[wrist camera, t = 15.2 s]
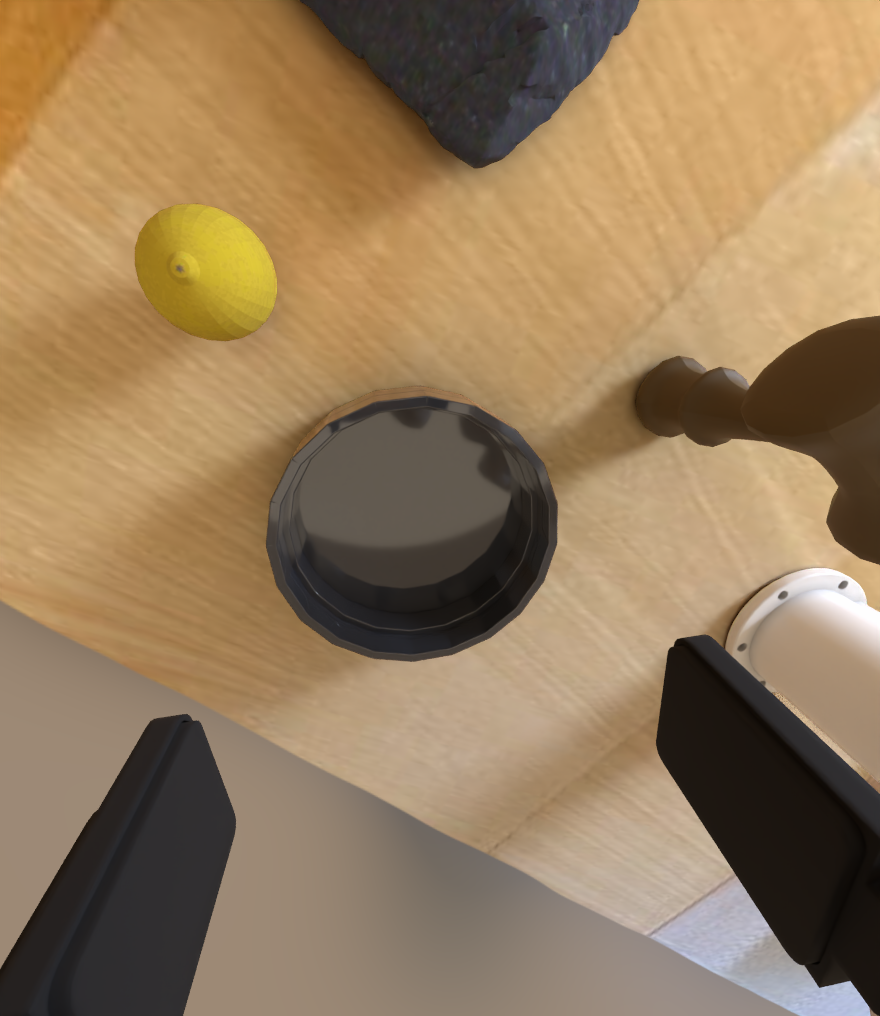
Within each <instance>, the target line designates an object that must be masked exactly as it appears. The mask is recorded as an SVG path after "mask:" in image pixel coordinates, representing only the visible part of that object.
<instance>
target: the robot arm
mask: <svg viewBox="0 0 880 1016" xmlns="http://www.w3.org/2000/svg"><path fill="white" fill-rule="evenodd" d="M771 692H779V693H780V694H781V695H782V696H784V697H785V698H786V699H787V700H788V701H789V702H790V703H791V704H792V705H793V706H795V707H796V708H797V709H798V710H799V711H800V712H801V713H802V714H803V715H805V716H806V717H807V718H808V719H809V720H810V721H811V722H812V723H813V724H814V725H816V726H817V727H818V728H819V729H820V730H821V731H822V732H823V733H824V734H826V735H827V736H828V737H829V738H830V739H831V740H832V741H833V742H834V743H836V744H837V745H838V746H839V747H840V748H841V749H842V750H843V751H844V752H845V753H847V754H848V755H849V756H850V757H851V758H852V759H853V760H854V761H855V762H857V763H858V764H859V765H860V766H861V767H862V768H863V769H864V770H865V771H867V772H868V773H869V774H870V775H871V776H872V777H873V778H874V779H875V780H876V781H878V782H879V783H880V612H878V611H876V610H875V609H873V608H871V607H869V606H868V605H867V600H866V597H865V593H864V591H863V589H862V588H861V587H860V585H859V584H858V583H857V582H856V581H854V580H853V579H852V578H850V577H848V576H846V575H844V574H842V573H840V572H838V571H836V570H832V569H827V568H811V569H805V570H800V571H797V572H794V573H791V574H788V575H786V576H784V577H782V578H780V579H778V580H776V581H774V582H772V583H771V584H769V585H768V586H766V587H765V588H763V589H762V590H761V591H759V592H758V593H757V594H756V595H755V596H754V597H753V598H752V599H750V601H749V602H748V603H747V604H746V605H745V606H744V607H743V609H742V610H741V611H740V613H739V614H738V616H737V617H736V619H735V620H734V622H733V624H732V626H731V628H730V631H729V633H728V637H727V641H726V645H725V649H724V648H723V647H722V646H721V645H720V644H719V643H717V642H716V641H715V640H714V639H713V638H712V637H710V636H708V635H699V636H692V637H686V638H680V639H677V640H676V641H675V644H674V647H671V648H670V649H669V650H668V655H667V663H666V670H665V678H664V685H663V693H662V700H661V708H660V716H659V723H658V731H657V738H656V746H657V750H658V754H659V756H660V758H661V760H662V762H663V763H664V765H665V766H666V768H667V770H668V771H669V773H670V774H671V776H672V777H673V779H674V780H675V782H676V783H677V785H678V786H679V788H680V790H681V791H682V793H683V794H684V796H685V797H686V799H687V800H688V802H689V803H690V805H691V806H692V808H693V810H694V811H695V813H696V814H697V816H698V817H699V819H700V820H701V822H702V823H703V825H704V826H705V828H706V830H707V831H708V833H709V834H710V836H711V837H712V839H713V840H714V842H715V843H716V845H717V846H718V848H719V849H720V851H721V853H722V854H723V856H724V857H725V859H726V860H727V862H728V863H729V865H730V866H731V868H732V869H733V871H734V873H735V874H736V876H737V877H738V879H739V880H740V882H741V883H742V885H743V886H744V888H745V889H746V891H747V893H748V894H749V896H750V897H751V899H752V900H753V902H754V903H755V905H756V906H757V908H758V909H759V911H760V913H761V914H762V916H763V917H764V919H765V920H766V922H767V923H768V925H769V926H770V928H771V929H772V931H773V932H774V934H775V936H776V937H777V939H778V940H779V942H780V943H781V945H782V946H783V948H784V949H785V951H786V952H787V953H788V955H789V956H790V957H791V958H792V959H793V960H794V961H795V962H796V963H798V964H799V965H805V967H806V968H807V970H808V971H809V973H810V974H811V976H812V977H813V979H814V980H815V982H816V983H817V985H818V986H819V988H821V987H825V986H829V985H834V984H838V983H843V982H847V981H851V982H852V984H853V985H854V986H855V988H856V989H857V991H858V992H859V993H860V995H861V996H862V997H863V999H864V1000H865V1002H866V1003H867V1004H868V1006H869V1007H870V1014H871V1016H880V794H879V793H878V792H877V791H876V790H875V789H874V788H873V787H872V786H871V785H870V784H868V783H867V782H866V781H865V780H864V779H863V778H862V777H861V776H860V775H859V774H858V773H857V772H856V771H855V770H853V769H852V768H851V767H850V766H849V765H848V764H847V763H846V762H845V761H844V760H843V759H842V758H841V757H840V756H838V755H837V754H836V753H835V752H834V751H833V750H832V749H831V748H830V747H829V746H828V745H827V744H826V743H825V742H823V741H822V740H821V739H820V738H819V737H818V736H817V735H816V734H815V733H814V732H813V731H812V730H811V729H810V728H808V727H807V726H806V725H805V724H804V723H803V722H802V721H801V720H800V719H799V718H798V717H797V716H796V715H795V714H794V713H792V712H791V711H790V710H789V709H788V708H787V707H786V706H785V705H784V704H783V703H782V702H781V701H780V700H779V699H777V698H776V697H775V696H774V695H773V694H772V693H771ZM235 828H236V818H235V813H234V810H233V807H232V805H231V802H230V799H229V797H228V794H227V791H226V789H225V786H224V783H223V781H222V778H221V775H220V773H219V770H218V767H217V765H216V762H215V759H214V757H213V754H212V751H211V749H210V746H209V743H208V741H207V738H206V736H205V733H204V730H203V727H202V725H201V723H200V722H199V721H193V720H192V719H191V717H190V716H189V715H188V714H183V715H176V716H170V717H164V718H157V719H154V720H152V721H150V723H149V724H148V726H147V727H146V728H145V730H144V732H143V734H142V735H141V737H140V739H139V741H138V742H137V744H136V746H135V748H134V749H133V751H132V753H131V754H130V756H129V758H128V759H127V761H126V763H125V765H124V766H123V768H122V770H121V771H120V773H119V775H118V776H117V778H116V780H115V782H114V783H113V785H112V787H111V788H110V790H109V792H108V794H107V795H106V797H105V799H104V801H103V802H102V804H101V806H100V807H99V809H98V810H97V811H96V812H95V813H94V814H93V815H92V816H91V818H90V819H89V820H88V822H87V823H86V825H85V827H84V828H83V830H82V832H81V833H80V835H79V837H78V838H77V840H76V842H75V843H74V845H73V847H72V849H71V850H70V852H69V854H68V855H67V857H66V859H65V860H64V862H63V864H62V865H61V867H60V869H59V870H58V872H57V874H56V876H55V877H54V879H53V881H52V883H51V884H50V886H49V888H48V889H47V891H46V892H45V894H44V896H43V898H42V899H41V901H40V903H39V904H38V906H37V908H36V909H35V911H34V913H33V915H32V916H31V918H30V920H29V921H28V923H27V925H26V926H25V928H24V930H23V931H22V933H21V935H20V937H19V938H18V940H17V942H16V943H15V945H14V947H13V948H12V950H11V952H10V953H9V955H8V957H7V959H6V960H5V962H4V964H3V965H2V967H1V969H0V1016H183V1014H184V1010H185V1007H186V1003H187V1000H188V996H189V993H190V989H191V986H192V982H193V979H194V975H195V972H196V968H197V965H198V961H199V958H200V954H201V951H202V947H203V944H204V940H205V937H206V933H207V930H208V926H209V923H210V919H211V916H212V912H213V909H214V905H215V902H216V898H217V894H218V891H219V888H220V884H221V881H222V877H223V874H224V870H225V867H226V863H227V860H228V856H229V853H230V849H231V846H232V842H233V838H234V835H235Z"/></svg>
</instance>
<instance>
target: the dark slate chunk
mask: <svg viewBox="0 0 880 1016" xmlns="http://www.w3.org/2000/svg"><path fill="white" fill-rule="evenodd" d="M300 1H301V2H302V3H304V4H306V5H307V6H309V7H310V8H311V9H312V10H313V11H314V12H315V13H316V15H317V16H318V17H319V18H320V19H321V20H322V22H323V23H324V24H325V26H326V27H327V28H328V30H329V31H330V32H331V33H332V34H333V35H334V36H335V37H336V38H337V39H338V40H339V41H340V42H341V43H342V44H343V45H344V46H345V47H346V48H347V49H349V50H351V51H352V52H353V53H354V54H355V55H356V56H357V57H358V58H364V59H366V61H367V64H368V66H369V67H370V69H371V70H372V72H373V73H374V74H375V76H376V77H377V78H378V79H380V80H381V81H382V82H383V83H384V84H385V85H386V86H388V87H390V88H392V89H393V91H394V92H395V94H396V95H397V96H398V97H399V98H400V99H401V100H402V101H403V102H404V103H405V104H406V105H407V106H408V107H410V108H411V109H413V110H414V111H415V112H416V113H417V114H418V115H419V116H420V117H421V118H422V119H423V120H424V121H425V123H426V124H427V126H428V128H429V130H430V132H431V134H432V135H433V136H434V137H435V138H436V140H437V141H438V142H439V143H440V144H441V146H442V147H443V148H445V149H446V150H448V151H450V152H452V153H453V154H454V155H455V156H456V157H458V158H459V159H461V160H462V161H464V162H465V163H467V164H468V165H470V166H471V167H473V168H482V167H485V166H487V165H489V164H491V163H494V162H497V161H499V160H501V159H503V158H504V157H505V156H506V155H508V154H509V153H510V152H511V151H512V150H513V149H514V148H515V147H516V146H517V144H519V143H520V142H521V141H523V140H524V139H525V138H526V137H527V136H528V135H529V134H530V133H531V132H532V131H533V130H534V129H535V128H537V127H538V126H539V125H540V124H542V123H544V122H546V121H548V120H549V119H550V118H551V116H552V114H553V113H554V112H555V111H556V110H557V109H558V108H559V107H560V105H561V104H562V102H563V101H564V99H565V98H566V97H567V96H568V94H569V92H570V91H572V90H573V89H574V87H576V86H577V85H579V84H580V83H581V82H582V81H583V80H584V79H585V78H586V77H587V76H588V75H589V74H590V73H591V72H592V70H593V69H594V67H595V66H596V64H597V63H598V62H599V61H600V60H601V59H602V57H603V55H604V54H605V53H606V51H607V49H608V46H609V43H610V41H611V39H612V37H613V35H619V34H620V33H621V32H622V31H623V30H624V29H625V28H626V27H627V25H628V23H629V21H630V18H631V16H632V14H633V13H634V12H635V10H636V8H637V5H638V2H639V0H300Z"/></svg>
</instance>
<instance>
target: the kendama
mask: <svg viewBox="0 0 880 1016" xmlns="http://www.w3.org/2000/svg"><path fill="white" fill-rule="evenodd" d="M636 407H637V413H638V417H639V418H640V420H641V421H642V423H643V424H644V426H645V427H646V428H647V429H649V430H650V431H652V432H653V433H655V434H656V435H658V436H665V437H675V436H677V435H680V434H683V433H685V434H686V436H687V437H688V438H690V439H691V440H693V441H694V442H695V443H697V444H699V445H704V446H710V447H714V446H717V445H720V444H723V443H726V442H728V441H729V440H731V439H745V440H755V441H764V442H771V443H773V444H775V445H778V446H781V447H784V448H787V449H790V450H794V451H797V452H800V453H803V454H806V455H809V456H811V457H813V458H815V459H816V460H817V461H818V462H819V463H820V464H821V465H822V466H823V467H824V468H825V469H826V470H827V471H828V473H829V474H830V475H831V476H832V478H833V479H834V480H835V482H836V484H837V485H838V489H837V491H836V493H835V494H834V496H833V498H832V501H831V505H830V509H829V512H828V516H827V521H826V523H827V525H828V527H829V529H830V531H831V533H832V535H833V537H834V539H835V541H836V542H838V543H839V544H840V545H842V546H843V547H844V548H846V549H847V550H849V551H850V552H852V553H853V554H854V555H856V556H857V557H859V558H860V559H863V560H866V561H869V562H872V563H876V564H879V565H880V316H874V317H866V318H858V319H851V320H848V321H845V322H842V323H839V324H836V325H833V326H830V327H827V328H824V329H821V330H818V331H816V332H815V333H813V334H811V335H810V336H808V337H806V338H805V339H803V340H801V341H800V342H798V343H796V344H795V345H793V346H791V347H790V348H788V349H787V350H786V351H784V352H783V353H782V354H781V355H780V356H779V357H777V358H776V359H775V360H774V361H773V362H772V363H770V364H769V365H768V366H767V367H766V368H765V369H764V370H763V371H762V372H761V373H760V375H759V376H758V377H757V379H756V380H755V381H754V382H753V384H752V385H751V386H749V385H748V383H747V381H746V379H745V378H743V377H742V376H741V375H740V374H739V373H737V372H736V371H735V370H732V369H727V368H723V367H718V368H716V369H713V370H710V371H706V369H705V368H704V367H703V366H702V365H700V364H699V363H698V362H697V361H695V360H694V359H691V358H686V357H681V356H676V357H674V358H671V359H668V360H665V361H663V362H662V363H660V364H659V365H658V366H657V367H655V368H654V369H653V370H652V371H651V372H650V373H649V374H648V376H647V377H646V378H645V380H644V381H643V383H642V384H641V386H640V388H639V392H638V395H637V399H636Z"/></svg>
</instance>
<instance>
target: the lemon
mask: <svg viewBox="0 0 880 1016" xmlns="http://www.w3.org/2000/svg"><path fill="white" fill-rule="evenodd" d="M135 267H136V272H137V276H138V280H139V283H140V285H141V287H142V289H143V291H144V293H145V295H146V297H147V298H148V300H149V301H150V302H151V304H152V305H153V306H154V307H155V309H156V310H157V311H158V312H159V313H160V314H161V315H162V316H163V317H164V318H166V319H167V320H168V321H169V322H170V323H171V324H173V325H174V326H176V327H178V328H180V329H181V330H183V331H185V332H187V333H189V334H191V335H194V336H197V337H200V338H204V339H207V340H217V341H230V340H234V339H239V338H243V337H245V336H247V335H249V334H251V333H253V332H255V331H256V330H257V329H258V328H259V327H260V326H261V325H263V324H264V323H265V322H266V321H267V319H268V317H269V315H270V313H271V312H272V310H273V308H274V304H275V299H276V295H277V278H276V274H275V270H274V266H273V262H272V260H271V258H270V256H269V254H268V252H267V250H266V248H265V246H264V245H263V244H262V242H261V241H260V240H259V239H258V237H257V236H256V235H255V233H254V232H253V231H252V230H251V229H249V228H248V227H247V226H246V225H245V224H243V223H242V222H241V221H240V220H239V219H237V218H236V217H234V216H232V215H230V214H228V213H226V212H224V211H222V210H220V209H218V208H214V207H210V206H205V205H201V204H178V205H174V206H172V207H169V208H166V209H163V210H161V211H159V212H158V213H157V214H155V215H154V216H153V217H152V218H150V219H149V220H148V221H147V222H146V224H145V225H144V227H143V228H142V230H141V231H140V233H139V236H138V240H137V243H136V246H135Z"/></svg>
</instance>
